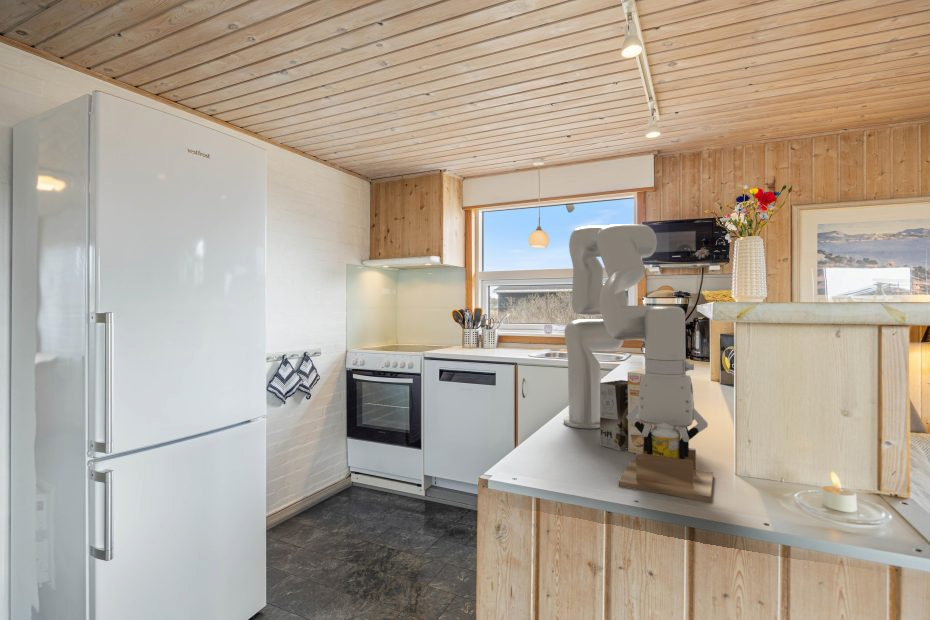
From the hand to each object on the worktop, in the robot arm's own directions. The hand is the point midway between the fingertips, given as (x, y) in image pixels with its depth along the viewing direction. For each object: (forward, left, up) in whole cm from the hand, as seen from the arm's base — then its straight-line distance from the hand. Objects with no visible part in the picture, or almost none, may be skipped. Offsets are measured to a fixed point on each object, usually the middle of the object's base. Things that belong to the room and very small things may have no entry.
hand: (666, 456), depth 92 cm
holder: (0, 0, -5) cm, 5 cm away
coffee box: (-21, -13, -5) cm, 25 cm away
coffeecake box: (-22, -5, -5) cm, 23 cm away
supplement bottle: (0, 0, -2) cm, 2 cm away
